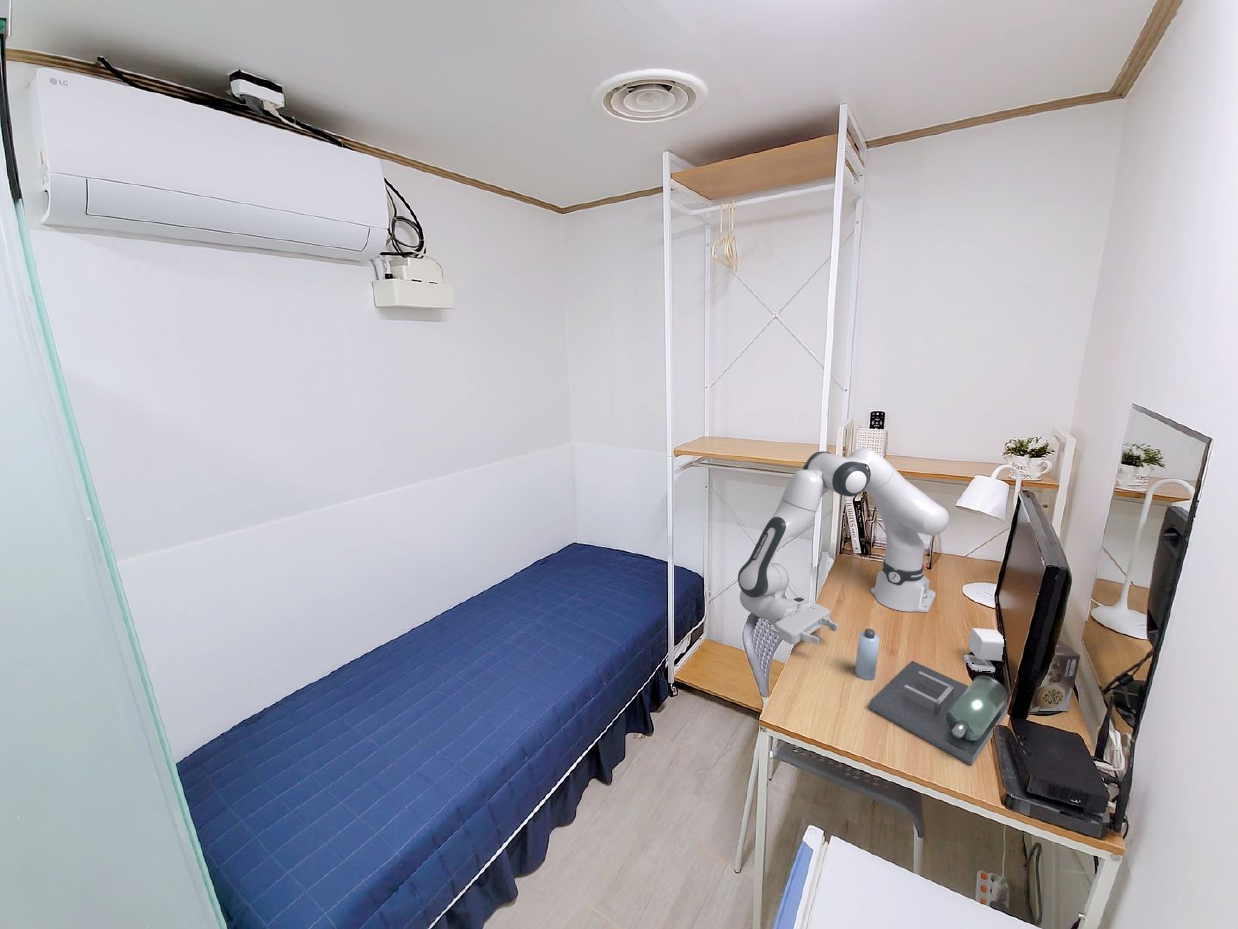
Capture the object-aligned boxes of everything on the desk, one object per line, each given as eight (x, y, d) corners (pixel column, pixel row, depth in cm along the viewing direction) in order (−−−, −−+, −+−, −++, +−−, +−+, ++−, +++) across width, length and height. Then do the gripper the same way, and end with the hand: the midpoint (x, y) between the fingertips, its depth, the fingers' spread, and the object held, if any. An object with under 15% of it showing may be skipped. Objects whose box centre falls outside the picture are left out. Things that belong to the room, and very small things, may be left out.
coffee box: (1048, 694, 127) (1060, 639, 123) (1068, 713, 120) (1082, 655, 116) (1011, 694, 127) (1022, 639, 123) (1030, 712, 121) (1042, 655, 117)
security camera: (1002, 674, 134) (1008, 642, 132) (973, 671, 136) (978, 639, 133) (990, 659, 140) (995, 628, 138) (962, 657, 142) (967, 626, 139)
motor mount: (911, 668, 138) (915, 638, 135) (1007, 713, 121) (1014, 679, 118) (869, 709, 124) (873, 676, 121) (971, 766, 107) (978, 729, 104)
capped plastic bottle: (860, 665, 139) (865, 623, 136) (878, 674, 136) (883, 631, 132) (851, 673, 137) (856, 630, 133) (869, 683, 133) (874, 639, 129)
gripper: (766, 618, 147) (808, 639, 136) (805, 594, 159) (846, 612, 148) (765, 636, 148) (807, 659, 138) (803, 612, 160) (845, 631, 150)
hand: (828, 634), depth 143 cm, fingers open, 8 cm apart
